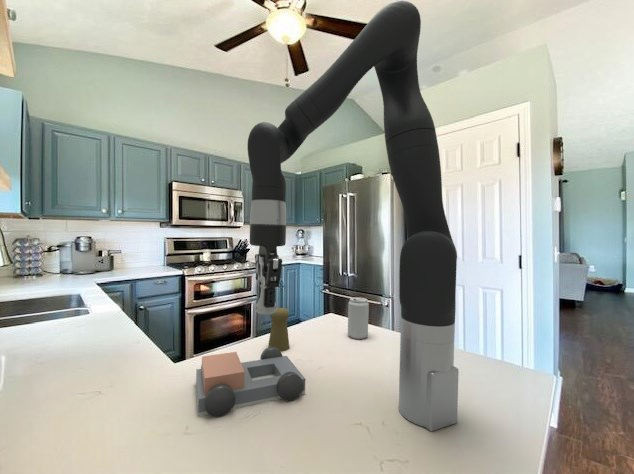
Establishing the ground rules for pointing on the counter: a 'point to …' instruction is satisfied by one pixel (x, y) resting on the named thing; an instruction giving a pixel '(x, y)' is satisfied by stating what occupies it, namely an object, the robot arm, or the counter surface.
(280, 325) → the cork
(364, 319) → the beverage can
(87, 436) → the counter surface
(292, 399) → the toy truck
